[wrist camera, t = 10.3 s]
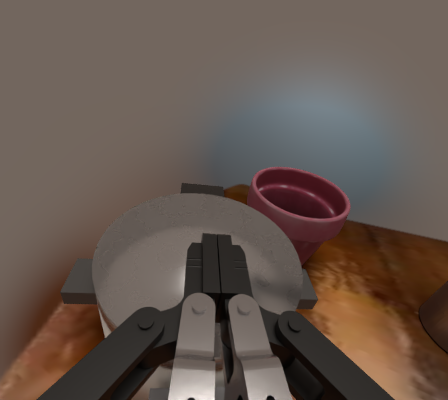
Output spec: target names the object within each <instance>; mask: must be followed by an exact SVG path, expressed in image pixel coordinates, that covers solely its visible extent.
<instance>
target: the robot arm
mask: <svg viewBox="0 0 448 400" xmlns="http://www.w3.org/2000/svg"><path fill="white" fill-rule="evenodd" d="M419 315H420V319H421V322H422V324H423V326H424V328H425V329H426V331H427V332H428V333H429V335H430V336H431V337H432V338H433V340H434V341H435V342H436V343H437V344H438V345H439V346H440V347H442V348H443V349H444V350H445V351H446V352H448V281H447V282H446V283H445V284H444V285H443V286H442V287H440V288H439V289H438V290H437V291H436V292H435V293H434V294H433V295H432V296H431V297H430V298H429V299H428V300H427V301H426V302H425V303H424V304H423V305H422V306H421V307H420V310H419ZM215 323H220V328H221V333H220V336H219V344H220V352H221V360H222V368H223V375H224V384H225V395H224V400H292V398H291V394H292V395H293V396H294V397H295V399H296V400H395V399H393V398H392V397H391V396H390V395H389V394H388V393H387V392H386V391H385V390H384V389H382V388H381V387H380V386H379V385H378V384H377V383H376V382H375V381H374V380H373V379H371V378H370V377H369V376H368V375H367V374H366V373H365V372H364V371H363V370H362V369H360V368H359V367H358V366H357V365H356V364H355V363H354V362H353V361H352V360H351V359H350V358H348V357H347V356H346V355H345V354H344V353H343V352H342V351H341V350H340V349H339V348H337V347H336V346H335V345H334V344H333V343H332V342H331V341H330V340H329V339H328V338H326V337H325V336H324V335H323V334H322V333H321V332H320V331H319V330H318V329H317V328H315V327H314V326H313V325H312V324H311V323H310V322H309V321H308V320H307V319H306V318H304V317H303V316H302V315H301V314H299V313H297V312H295V311H285V312H283V313H281V315H279V314H276V313H273V312H270V311H268V310H265V309H264V308H262V307H261V306H259V305H258V303H257V302H256V301H255V299H254V297H253V294H252V289H251V283H250V278H249V272H248V267H247V263H246V256H245V252H244V251H243V249H242V248H241V246H240V245H232V239H231V235H226V234H217V235H216V234H210V233H202V239H201V243H194V242H192V243H191V245H190V246H189V248H188V250H187V259H186V269H185V284H184V297H183V299H182V300H181V302H180V303H179V304H178V305H176V306H175V307H173V308H170V309H167V310H164V311H160V310H158V309H157V308H154V307H143V308H140V309H138V310H136V311H135V312H134V313H133V314H132V315H131V316H129V317H128V318H127V319H126V320H125V321H124V322H123V323H122V324H120V325H119V326H118V327H117V328H116V329H115V330H114V331H113V332H112V333H110V334H109V335H108V336H107V337H106V338H105V339H104V340H103V341H101V342H100V343H99V344H98V345H97V346H96V347H95V348H94V349H93V350H91V351H90V352H89V353H88V354H87V355H86V356H85V357H84V358H82V359H81V360H80V361H79V362H78V363H77V364H76V365H75V366H73V367H72V368H71V369H70V370H69V371H68V372H67V373H66V374H65V375H63V376H62V377H61V378H60V379H59V380H58V381H57V382H56V383H54V384H53V385H52V386H51V387H50V388H49V389H48V390H47V391H46V392H44V393H43V394H42V395H41V396H40V397H39V398H38V399H37V400H131V399H132V398H133V397H134V396H135V394H136V393H137V392H138V391H139V390H140V388H141V387H142V386H143V385H144V384H145V382H146V381H147V380H148V379H149V378H150V376H151V375H152V374H153V373H154V372H155V371H156V369H157V368H158V367H159V366H160V364H163V363H165V362H168V361H170V360H173V359H174V364H173V370H172V377H171V383H170V390H169V396H168V400H215V359H214V337H215ZM290 393H291V394H290Z"/></svg>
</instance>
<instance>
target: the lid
mask: <svg viewBox="0 0 448 400" xmlns="http://www.w3.org/2000/svg"><path fill="white" fill-rule="evenodd" d="M202 233H210V234H216V235H217V234H226V235H231V239H232V245H240V246H241V248H242V249H243V251H244V252H245V256H246V263H247V267H248V272H249V278H250V283H251V289H252V294H253V297H254V299H255V301H256V302H257V303H258V305H259V306H261V307H262V308H264V309H265V310H268V311H270V312H273V313H276V314H279V315H281V313H283V312H285V311H295V310H296V308H297V306H298V303H299V300H300V297H301V293H302V287H303V273H302V268H301V263H300V260H299V257H298V254H297V252H296V250H295V248H294V246H293V244H292V243H291V241H290V240H289V238H288V237H287V236H286V234H285V233H284V232H283V231H282V230H281V229H280V228H279V227H278V226H277V225H276V224H275V223H274V222H273V221H271V220H270V219H269V218H268V217H266V216H265V215H263V214H262V213H260V212H259V211H257V210H255V209H253V208H251V207H250V206H247V205H245V204H243V203H240V202H238V201H235V200H232V199H228V198H225V197H224V190H223V187H219V186H208V185H197V184H186V183H182V187H181V194H173V195H168V196H162V197H159V198H155V199H152V200H149V201H147V202H143V203H141V204H139V205H137V206H135V207H133V208H132V209H130V210H128V211H127V212H125V213H124V214H122V215H121V216H120V217H118V218H117V219H116V220H115V221H114V222H113V223H112V224H111V225H110V226H109V227H108V229H107V230H106V231H105V232H104V234H103V236H102V237H101V239H100V241H99V242H98V245H97V247H96V250H95V253H94V258H93V263H92V279H93V284H94V289H95V293H96V298H97V303H98V307H99V310H100V312H101V315H102V317H103V320H104V321H105V323H106V324H107V326H108V328H109V329H110V331H111V332H113V331H114V330H115V329H116V328H117V327H118V326H119V325H120V324H122V323H123V322H124V321H125V320H126V319H127V318H128V317H129V316H131V315H132V314H133V313H134V312H135V311H136V310H138V309H140V308H143V307H154V308H157V309H158V310H160V311H164V310H167V309H170V308H173V307H175V306H176V305H178V304H179V303H180V302H181V300H182V299H183V297H184V284H185V269H186V259H187V250H188V248H189V246H190V245H191V243H192V242H194V243H201V239H202ZM220 333H221V328H220V323H215V337H214V359H215V371H220V370H223V368H222V360H221V352H220V344H219V336H220ZM173 364H174V359H173V360H170V361H168V362H165V363H163V364H160V366H162V367H165V368H169V369H173Z"/></svg>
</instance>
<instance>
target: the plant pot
mask: <svg viewBox="0 0 448 400" xmlns="http://www.w3.org/2000/svg"><path fill="white" fill-rule="evenodd" d="M247 204H248V206H250V207H251V208H253V209H255V210H257V211H259V212H260V213H262V214H263V215H265V216H266V217H268V218H269V219H270V220H271V221H273V222H274V223H275V224H276V225H277V226H278V227H279V228H280V229H281V230H282V231H283V232H284V233H285V234H286V236H287V237H288V238H289V240H290V241H291V243H292V244H293V246H294V248H295V250H296V252H297V254H298V257H299V260H300V263H301V266H302V265H303V264H304V263H305V262H306V261H307V260H308V258H309V257H310V256H311V255H312V254H313V253H314V252H315V251H316V250H317V249H318V248H319V247H320V245H321V244H322V243H323V242H324V241H327V240H330V239H332V238H333V237H335V236H336V235H337V234H338V233H339V232H340V230H341V228H342V226H343V224H344V222H345V220H346V218H347V216H348V214H349V211H350V202H349V200H348V197H347V196H346V195H345V193H344V192H343V191H342V190H341V189H340V188H338V187H337V186H336V185H335V184H333V183H332V182H330V181H328V180H326V179H324V178H323V177H320V176H318V175H316V174H313V173H310V172H307V171H304V170H300V169H294V168H288V167H271V168H266V169H263V170H261V171H259V172H258V173H256V175H255V176H254V177H253V179H252V182H251V186H250V189H249V193H248V198H247Z"/></svg>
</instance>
